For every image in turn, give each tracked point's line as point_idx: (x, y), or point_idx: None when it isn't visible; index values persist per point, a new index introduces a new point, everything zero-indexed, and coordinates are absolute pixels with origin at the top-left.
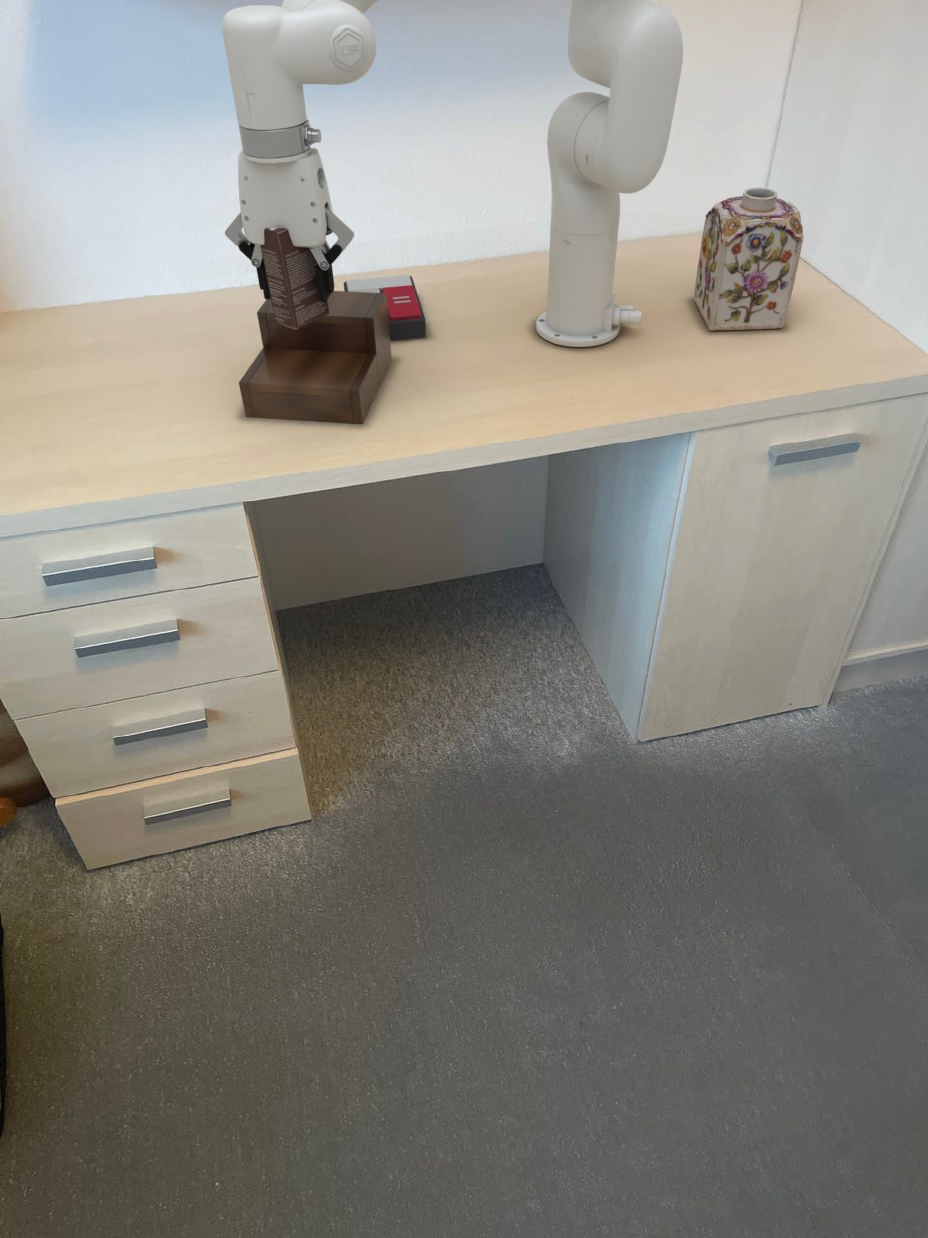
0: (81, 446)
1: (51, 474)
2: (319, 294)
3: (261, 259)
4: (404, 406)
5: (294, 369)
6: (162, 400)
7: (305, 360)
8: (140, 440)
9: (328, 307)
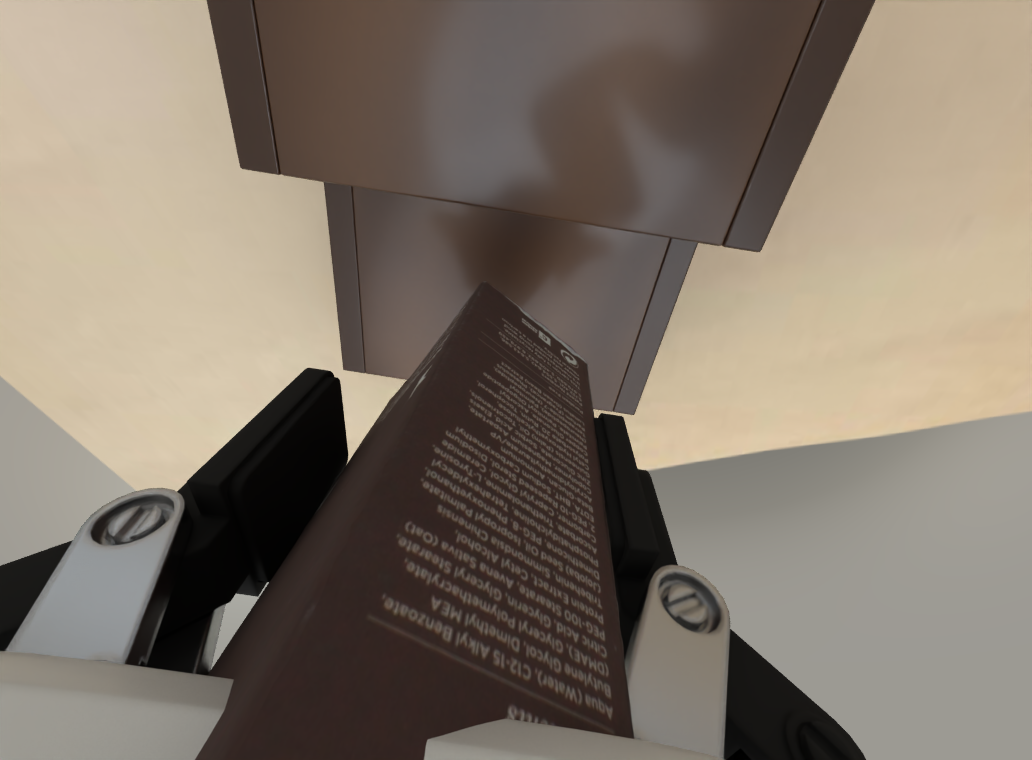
0: (142, 407)
1: (161, 467)
2: None
3: (215, 641)
4: (720, 305)
5: None
6: (163, 255)
7: (482, 262)
8: (226, 396)
9: (588, 377)
